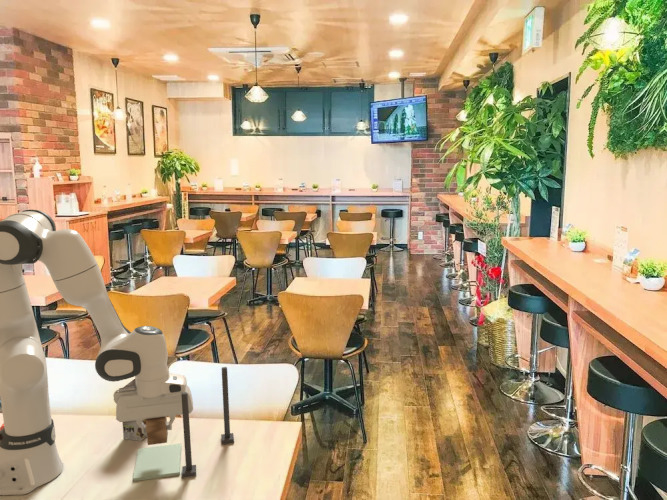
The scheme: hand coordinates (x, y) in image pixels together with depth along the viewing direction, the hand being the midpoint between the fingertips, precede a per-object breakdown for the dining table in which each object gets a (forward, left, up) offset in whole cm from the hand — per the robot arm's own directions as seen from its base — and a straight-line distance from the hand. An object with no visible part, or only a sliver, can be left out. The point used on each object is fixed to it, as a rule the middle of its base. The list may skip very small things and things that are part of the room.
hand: (157, 430), depth 155 cm
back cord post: (+19, +7, -10) cm, 23 cm away
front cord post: (+8, -7, -10) cm, 15 cm away
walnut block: (0, 0, -3) cm, 3 cm away
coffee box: (-7, +19, -10) cm, 22 cm away
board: (0, 0, -10) cm, 10 cm away
